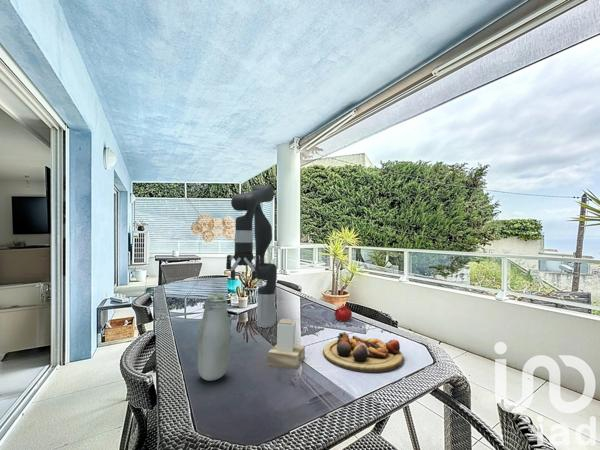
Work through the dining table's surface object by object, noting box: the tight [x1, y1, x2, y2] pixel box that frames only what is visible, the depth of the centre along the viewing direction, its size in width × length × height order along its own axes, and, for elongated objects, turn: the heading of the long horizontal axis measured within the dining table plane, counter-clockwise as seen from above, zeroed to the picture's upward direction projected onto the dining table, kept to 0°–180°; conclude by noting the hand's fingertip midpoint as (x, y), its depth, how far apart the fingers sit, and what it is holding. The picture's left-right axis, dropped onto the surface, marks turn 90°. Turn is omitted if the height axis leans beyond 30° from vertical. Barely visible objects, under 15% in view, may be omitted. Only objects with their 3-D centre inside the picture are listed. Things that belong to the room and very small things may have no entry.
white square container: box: [276, 318, 296, 352], centre depth 113 cm, size 6×6×10 cm
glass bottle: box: [197, 293, 232, 382], centre depth 98 cm, size 10×10×28 cm
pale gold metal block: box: [267, 343, 306, 370], centre depth 113 cm, size 11×11×5 cm
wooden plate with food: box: [322, 331, 404, 373], centre depth 120 cm, size 32×32×8 cm
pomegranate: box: [334, 303, 353, 322], centre depth 170 cm, size 10×10×9 cm
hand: (243, 279), depth 123 cm, fingers open, 8 cm apart
